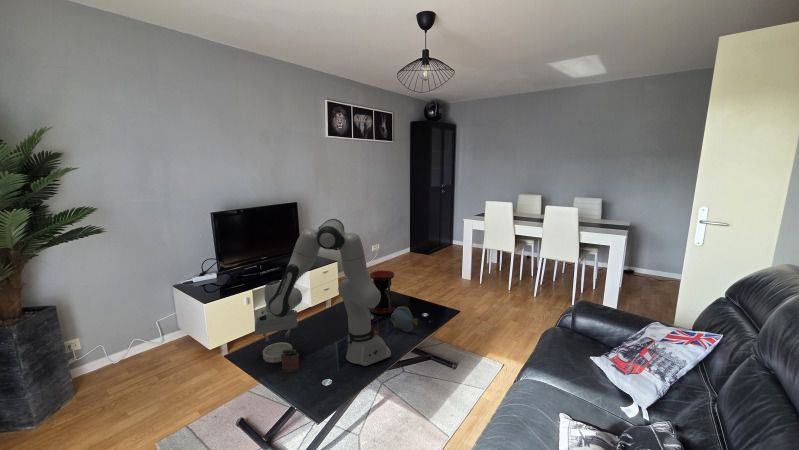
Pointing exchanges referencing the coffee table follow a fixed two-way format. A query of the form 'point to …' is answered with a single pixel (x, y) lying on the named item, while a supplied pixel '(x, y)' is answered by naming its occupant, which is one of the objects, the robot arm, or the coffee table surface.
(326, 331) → the coffee table surface
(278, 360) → the ring dish
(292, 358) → the lighter
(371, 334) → the robot arm
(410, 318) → the decorative fish sculpture
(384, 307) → the hourglass
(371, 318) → the house of cards
